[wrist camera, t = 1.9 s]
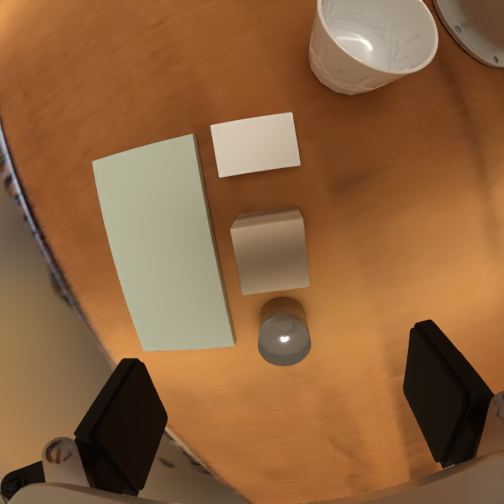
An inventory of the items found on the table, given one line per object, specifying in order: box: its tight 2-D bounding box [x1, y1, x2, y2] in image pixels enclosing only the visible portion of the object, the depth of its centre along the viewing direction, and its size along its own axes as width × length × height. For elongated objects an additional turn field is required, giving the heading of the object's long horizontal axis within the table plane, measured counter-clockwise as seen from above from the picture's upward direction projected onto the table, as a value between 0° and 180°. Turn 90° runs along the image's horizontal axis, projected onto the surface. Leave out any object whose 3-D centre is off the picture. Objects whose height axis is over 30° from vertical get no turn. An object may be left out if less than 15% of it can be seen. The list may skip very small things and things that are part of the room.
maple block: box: [230, 206, 311, 295], centre depth 24 cm, size 5×5×6 cm
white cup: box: [308, 0, 438, 95], centre depth 17 cm, size 8×8×10 cm
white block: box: [210, 112, 301, 178], centre depth 23 cm, size 4×6×4 cm, turn 99°
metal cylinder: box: [258, 297, 311, 366], centre depth 27 cm, size 4×4×5 cm
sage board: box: [92, 134, 236, 351], centre depth 28 cm, size 20×10×1 cm, turn 9°
